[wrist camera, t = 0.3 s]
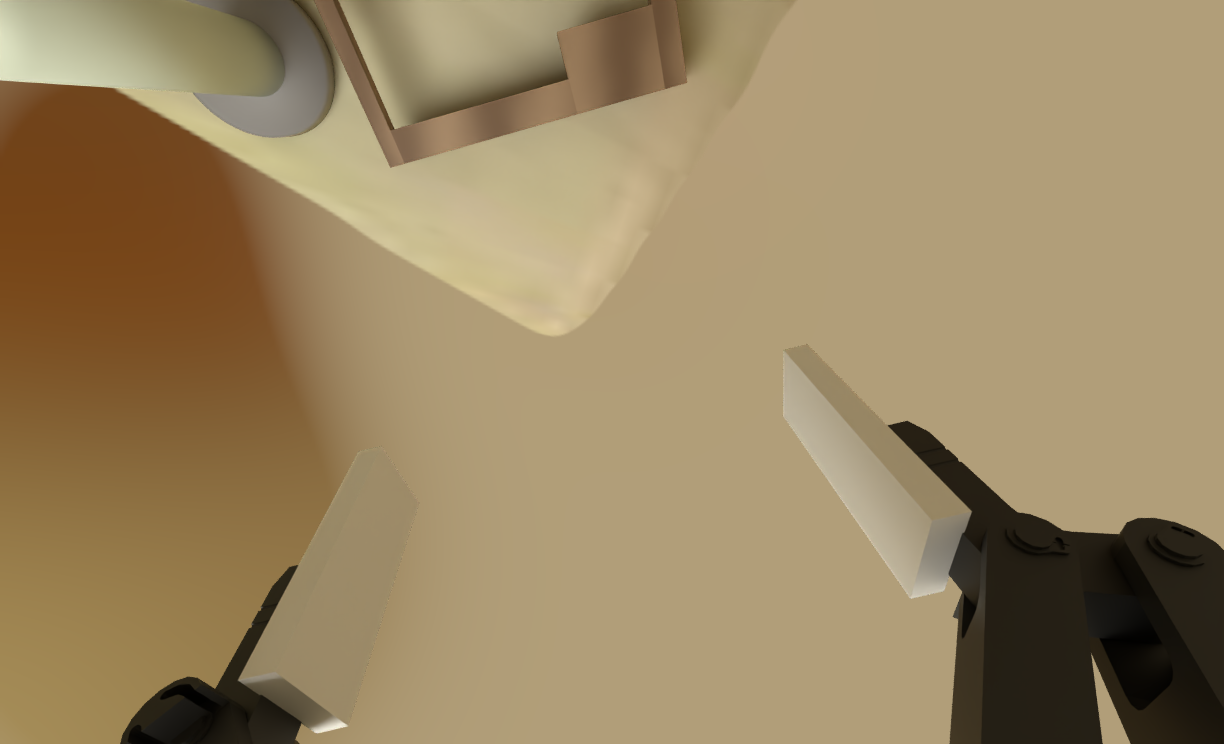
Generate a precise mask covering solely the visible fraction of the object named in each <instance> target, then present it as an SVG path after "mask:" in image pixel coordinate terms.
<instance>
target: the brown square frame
mask: <svg viewBox="0 0 1224 744" xmlns="http://www.w3.org/2000/svg"><path fill="white" fill-rule="evenodd" d="M314 2H315V4H316V6H317V8H318V10H319V13H320V15H321V17H322V19H323V21H324V24H325V26H326V28H327V30H328V32H329V34H330V37H331V39H332V41H333V43H334V45H335V48H336V50H337V52H338V54H339V56H340V59H341V61H342V63H343V65H344V67H345V69H346V72H347V74H348V76H349V78H350V80H351V83H352V85H353V87H354V89H355V91H356V93H357V96H358V98H359V100H360V102H361V104H362V107H363V109H364V111H365V113H366V115H367V118H368V120H369V122H370V124H371V126H372V128H373V131H374V133H375V135H376V137H377V139H378V142H379V144H380V146H381V148H382V150H383V153H384V155H385V157H386V159H387V161H388V163H389V166H390V168H391V167H394V166H398V165H401V164H405V163H408V162H412V161H415V160H419V159H422V158H426V157H429V156H433V155H436V154H440V153H443V152H447V151H450V150H454V149H457V148H461V147H464V146H468V145H471V144H475V143H478V142H482V141H485V140H489V139H492V138H496V137H499V136H503V135H506V134H510V133H513V132H517V131H520V130H523V129H527V128H530V127H534V126H537V125H541V124H544V123H548V122H551V121H555V120H558V119H562V118H565V117H569V116H572V115H576V114H579V113H583V112H586V111H590V110H593V109H597V108H600V107H604V106H607V105H611V104H614V103H618V102H621V101H625V100H628V99H632V98H635V97H639V96H642V95H646V94H649V93H653V92H656V91H660V90H663V89H667V88H670V87H674V86H677V85H681V84H684V83H687V78H686V71H685V63H684V56H683V49H682V41H681V34H680V26H679V19H678V11H677V4H676V0H648V6H645V7H641V8H638V9H634V10H631V11H627V12H624V13H621V14H617V15H614V16H610V17H607V18H603V19H600V20H597V21H593V22H590V23H586V24H583V25H579V26H576V27H572V28H569V29H566V30H562V31H559V32H557V36H558V40H559V44H560V49H561V53H562V57H563V61H564V65H565V69H566V73H567V77H568V80H564V81H561V82H557V83H554V84H550V85H547V86H543V87H540V88H536V89H533V90H529V91H526V92H522V93H519V94H516V95H512V96H509V97H505V98H502V99H498V100H495V101H491V102H488V103H484V104H481V105H477V106H474V107H470V108H467V109H464V110H460V111H457V112H453V113H450V114H446V115H443V116H439V117H436V118H432V119H429V120H425V121H422V122H419V123H415V124H412V125H408V126H405V127H401V128H398V129H394V127H393V125H392V123H391V120H390V118H389V116H388V113H387V111H386V109H385V106H384V104H383V102H382V100H381V97H380V95H379V93H378V90H377V88H376V86H375V84H374V81H373V79H372V77H371V74H370V72H369V70H368V67H367V65H366V63H365V61H364V58H363V56H362V54H361V51H360V49H359V47H358V45H357V42H356V40H355V38H354V35H353V33H352V31H351V28H350V26H349V24H348V22H347V19H346V17H345V15H344V12H343V10H342V8H341V6H340V3H339V1H338V0H314Z"/></svg>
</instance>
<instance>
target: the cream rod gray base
mask: <svg viewBox="0 0 1224 744" xmlns="http://www.w3.org/2000/svg"><path fill="white" fill-rule="evenodd" d="M0 80H5V81H21V82H36V83H51V84H67V85H82V86H83V85H84V86H99V87H113V88H129V89H144V90H160V91H175V92H191V93H193V94H194V95H195V96H196V98H197V99H198V100H199V101H200V102H201V103H202V104H203V105H204V106H205V107H206V108H207V109H209V110H210V111H211V112H212V113H213V114H214V115H216V116H217V117H219V118H220V119H221V120H223V121H224V122H226V123H228V124H229V125H231V126H233V127H235V128H237V129H239V130H241V131H244V132H247V133H250V134H253V135H257V136H262V137H271V138H275V137H289V136H296V135H301V134H303V133H306V132H308V131H310V130H312V129H313V128H315V127H316V126H317V125H318V124H320V123H321V121H322V120H323V119H324V118H325V117H326V115H327V113H328V111H329V109H330V107H331V104H332V101H333V96H334V88H335V79H334V70H333V64H332V61H331V57H330V54H329V51H328V49H327V46H326V44H325V41H324V40H323V38H322V36H321V34H320V32H319V30H318V29H317V27H316V26H315V24H314V23H313V21H312V20H311V19H310V18H309V16H308V15H307V14H306V12H305V11H304V10H303V9H302V8H301V7H300V6H299V5H298V4H297V3H296V2H295V1H294V0H0Z"/></svg>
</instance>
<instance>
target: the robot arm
mask: <svg viewBox="0 0 1224 744" xmlns="http://www.w3.org/2000/svg"><path fill="white" fill-rule="evenodd" d="M783 352H784V353H783V354H784V355H783V358H784V361H783V364H784V365H783V366H784V369H783V370H784V373H783V375H784V377H783V379H784V380H783V382H784V386H783V387H784V388H783V393H784V394H783V396H784V398H783V399H784V400H783V406H784V410H783V412H784V413H783V416H784V418H785V419H786V421H787V422H788V424H789V425H790V427H791V428H792V430H793V431H794V432H795V434H796V435H797V437H798V438H799V440H800V441H801V442H802V444H803V445H804V447H805V448H806V449H807V451H808V452H809V454H810V455H811V457H812V458H813V460H814V461H815V463H816V464H817V465H818V467H819V468H820V470H821V471H822V473H823V474H824V475H825V477H826V478H827V480H828V481H829V483H830V484H831V485H832V487H833V488H834V490H835V491H836V493H837V494H838V495H839V497H840V498H841V500H842V501H843V502H844V504H845V506H846V507H847V508H848V510H849V511H850V513H851V514H852V516H853V517H854V518H855V520H856V521H857V523H858V524H859V526H860V527H861V528H862V530H863V531H864V533H865V534H866V536H867V537H868V538H869V540H870V541H871V543H872V544H873V545H874V547H875V549H876V550H877V551H878V553H879V554H880V556H881V557H882V559H883V560H884V562H885V563H886V564H887V566H888V567H889V569H890V570H891V572H892V573H893V574H894V576H895V577H896V579H897V580H898V582H899V583H900V584H901V586H902V587H903V589H904V590H905V592H906V593H907V595H908V596H909V597H910V599H911V598H915V597H920V596H924V595H929V594H933V593H937V592H942V591H944V590H945V587H946V584H947V581H948V578H949V576H950V577H951V578H952V579H953V581H954V582H955V583H956V584H957V586H958V587H959V588H960V589H961V590H962V594H961V597H960V599H959V602H958V605H957V607H956V610H955V612H954V615H953V617H954V618H957V619H958V632H957V647H956V660H955V675H954V688H953V704H952V718H951V731H950V744H1103V743H1102V735H1101V727H1100V720H1099V712H1098V704H1097V696H1096V688H1095V681H1094V672H1093V665H1092V657H1091V653H1092V656H1093V658H1094V660H1095V662H1096V665H1097V667H1098V669H1099V672H1100V674H1101V676H1102V679H1103V681H1104V683H1105V686H1106V688H1107V690H1108V692H1109V695H1110V697H1111V699H1112V702H1113V704H1114V706H1115V709H1116V711H1117V713H1118V716H1119V718H1120V720H1121V723H1122V725H1123V727H1124V729H1125V732H1126V734H1127V736H1128V739H1129V741H1130V743H1131V744H1224V550H1223V549H1222V548H1221V547H1220V546H1219V545H1218V544H1217V543H1216V542H1214V541H1213V540H1211V539H1209V538H1207V537H1206V536H1204V535H1203V534H1201V533H1199V532H1198V531H1196V530H1193V529H1191V528H1188V527H1186V526H1183V525H1181V524H1178V523H1175V522H1171V521H1167V520H1162V519H1157V518H1137V519H1135V520H1132V521H1130V522H1127V523H1126V525H1125V526H1124V528H1123V529H1122V531H1121V532H1120V534H1103V533H1085V532H1070V531H1063V530H1061V529H1060V528H1058V527H1056V526H1055V525H1053V524H1052V523H1050V522H1049V521H1047V520H1044V519H1041V518H1039V517H1036V516H1033V515H1031V514H1025V513H1018V512H1016V511H1015V510H1014V509H1012V508H1011V507H1010V506H1009V505H1008V504H1007V503H1006V502H1004V501H1003V500H1002V499H1001V498H1000V497H999V496H998V495H997V494H996V493H995V492H994V491H993V490H991V489H990V488H989V487H988V486H987V485H986V484H985V483H984V482H983V481H982V480H981V479H980V478H978V477H977V476H976V475H975V474H974V473H973V472H972V471H971V470H970V469H969V468H968V467H967V466H965V465H964V464H963V463H962V462H959V461H958V458H957V457H956V456H955V455H954V454H952V453H951V452H950V451H949V450H946V449H945V446H944V445H943V444H941V443H940V442H939V441H938V440H937V439H936V438H935V437H934V436H933V435H932V434H931V433H930V432H928V431H926V430H924V429H922V428H920V427H918V426H916V425H914V424H912V423H910V422H908V421H905V422H900V423H896V424H892V425H888V426H887V425H886V424H885V423H884V422H883V421H882V420H881V419H880V418H879V417H878V416H877V415H876V414H875V412H873V410H871V408H869V406H867V404H866V403H865V402H864V401H863V400H862V399H861V398H860V397H859V396H858V395H857V394H856V393H855V392H854V391H853V390H852V389H851V388H850V387H849V386H848V385H847V384H846V383H845V382H844V381H843V380H842V379H841V378H840V377H839V376H838V375H837V374H836V373H835V372H834V371H833V370H832V369H831V368H830V367H829V366H828V365H827V364H826V363H825V362H824V361H823V360H822V359H821V358H820V357H819V356H818V355H817V354H816V353H815V351H814V350H812V348H810V347H809V345H808V344H806V345H802V346H798V347H794V348H789V349H785V350H783ZM418 505H419V502H418V500H417V499H416V497H415V495H414V494H413V492H412V491H411V490H410V488H409V486H408V485H407V483H406V482H405V480H404V479H403V478H402V476H401V474H400V473H399V471H398V470H397V468H396V467H395V465H394V464H393V462H392V461H391V459H390V458H389V456H388V455H387V453H386V452H385V451H384V449H383V447H382V446H380V447H375V448H371V449H367V450H363V451H359V452H358V454H357V455H356V457H355V459H354V461H353V463H352V465H351V467H350V469H349V471H348V473H347V475H346V476H345V478H344V480H343V482H342V484H341V486H340V488H339V490H338V491H337V493H336V495H335V497H334V499H333V501H332V503H331V505H330V507H329V509H328V510H327V512H326V514H325V516H324V518H323V520H322V522H321V524H320V526H319V528H318V529H317V531H316V533H315V535H314V537H313V539H312V541H311V543H310V545H309V547H308V548H307V550H306V552H305V554H304V556H303V558H302V560H301V562H300V564H299V565H296V566H292V567H289V568H288V569H287V571H286V572H285V573H284V574H283V575H282V576H281V577H280V578H279V580H278V581H277V582H276V583H275V584H274V585H273V586H272V588H271V590H270V592H269V593H268V595H267V597H266V599H265V601H264V603H263V604H262V606H261V611H258V613H257V615H256V617H255V619H254V621H253V622H252V627H251V628H249V629H248V631H247V633H246V635H245V636H244V639H243V640H242V642H241V644H240V646H239V647H238V649H237V651H236V653H235V655H234V656H233V658H232V660H231V662H230V663H229V665H228V667H227V669H226V671H225V672H224V675H223V676H222V678H221V680H220V681H219V683H218V685H217V687H216V688H215V689H214V688H212V687H211V686H209V685H208V684H206V683H205V682H203V681H202V680H200V679H198V678H194V677H186V678H183V679H180V680H177V681H175V682H173V683H171V684H170V685H168V686H167V687H165V688H163V689H162V690H160V691H159V692H158V693H157V694H155V696H153V697H152V698H151V699H150V700H149V701H147V702H146V703H145V704H144V705H143V706H142V708H141V709H140V710H139V711H138V712H137V714H136V715H135V716H134V717H133V718H132V719H131V721H130V723H129V725H128V727H127V728H126V730H125V732H124V733H123V735H122V739H121V743H120V744H299V743H298V741H296V740H295V739H296V736H297V733H298V731H299V728H300V726H301V723H302V724H303V725H305V726H306V727H308V728H309V729H310V730H312V731H313V732H315V733H320V732H325V731H329V730H333V729H338V728H342V727H347V726H348V725H349V722H350V719H351V716H352V712H353V710H354V707H355V703H356V700H357V697H358V694H359V691H360V687H361V684H362V681H363V678H364V675H365V672H366V669H367V666H368V662H369V659H370V656H371V653H372V650H373V647H374V644H375V640H376V637H377V634H378V631H379V628H380V625H381V622H382V618H383V615H384V612H385V609H386V606H387V602H388V600H389V596H390V593H391V590H392V587H393V584H394V581H395V578H396V574H397V571H398V568H399V565H400V562H401V559H402V555H403V552H404V549H405V546H406V543H407V540H408V537H409V533H410V530H411V527H412V524H413V521H414V518H415V515H416V511H417V508H418Z"/></svg>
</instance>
